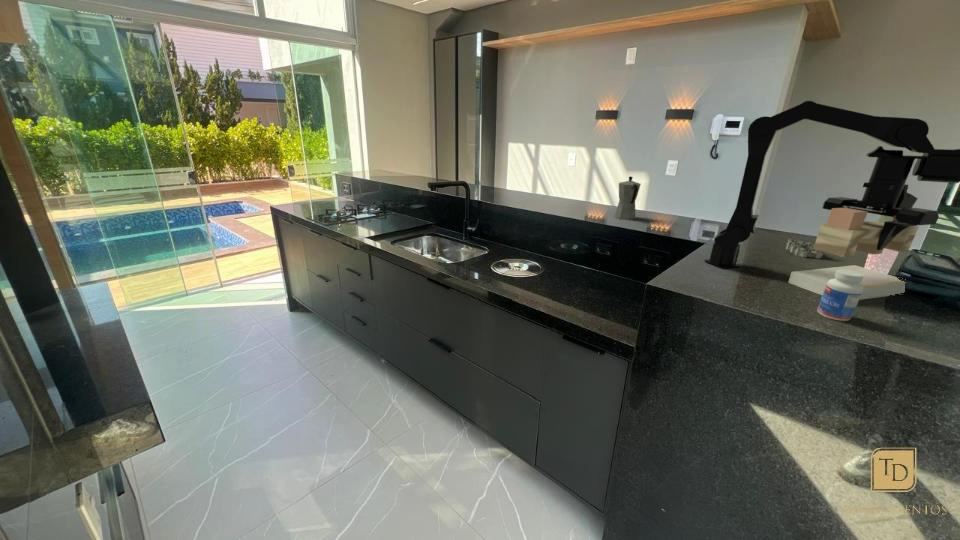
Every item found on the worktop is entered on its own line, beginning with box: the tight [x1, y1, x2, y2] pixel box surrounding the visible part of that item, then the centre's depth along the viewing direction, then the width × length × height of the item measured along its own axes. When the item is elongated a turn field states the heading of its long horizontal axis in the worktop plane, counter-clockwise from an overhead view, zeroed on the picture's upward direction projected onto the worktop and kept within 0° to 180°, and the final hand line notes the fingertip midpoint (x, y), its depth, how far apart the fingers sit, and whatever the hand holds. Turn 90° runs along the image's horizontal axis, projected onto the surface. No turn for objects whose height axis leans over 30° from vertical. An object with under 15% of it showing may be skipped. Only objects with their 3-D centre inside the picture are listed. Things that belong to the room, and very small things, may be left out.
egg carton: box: [785, 237, 824, 260], centre depth 119 cm, size 11×8×4 cm
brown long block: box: [813, 220, 920, 258], centre depth 88 cm, size 21×6×6 cm, turn 104°
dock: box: [787, 264, 906, 301], centre depth 92 cm, size 22×12×3 cm, turn 104°
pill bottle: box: [816, 269, 864, 322], centre depth 77 cm, size 6×5×10 cm
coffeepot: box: [614, 176, 641, 221], centre depth 163 cm, size 15×9×18 cm, turn 178°
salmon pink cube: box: [825, 208, 868, 230], centre depth 85 cm, size 4×4×4 cm
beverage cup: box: [863, 248, 900, 275], centre depth 100 cm, size 6×6×14 cm
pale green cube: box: [877, 207, 914, 223], centre depth 89 cm, size 4×4×4 cm
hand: (861, 245), depth 89 cm, fingers closed on brown long block, 6 cm apart
